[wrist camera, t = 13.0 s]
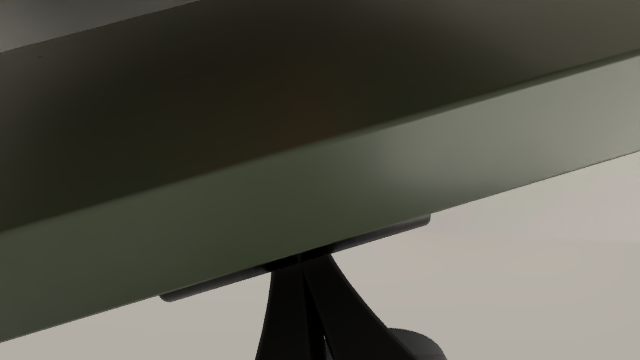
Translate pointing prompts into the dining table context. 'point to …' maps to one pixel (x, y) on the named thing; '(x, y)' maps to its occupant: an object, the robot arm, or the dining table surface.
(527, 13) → the drawer
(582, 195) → the dining table surface
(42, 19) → the dining table surface
